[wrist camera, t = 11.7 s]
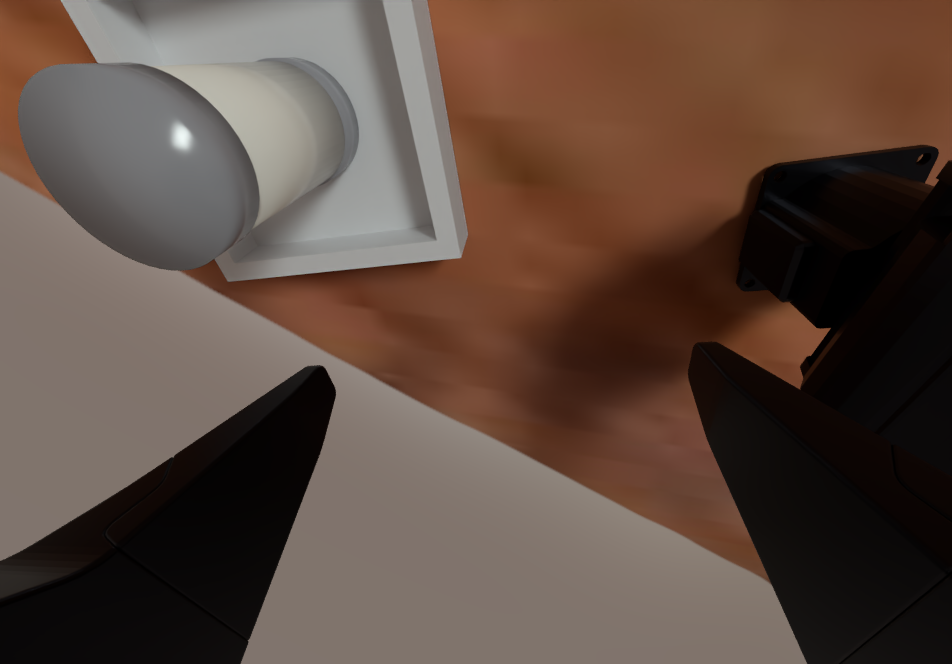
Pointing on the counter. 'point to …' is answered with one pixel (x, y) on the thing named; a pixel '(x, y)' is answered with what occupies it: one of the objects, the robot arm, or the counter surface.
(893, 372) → the robot arm
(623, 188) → the counter surface
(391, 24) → the parts tray
